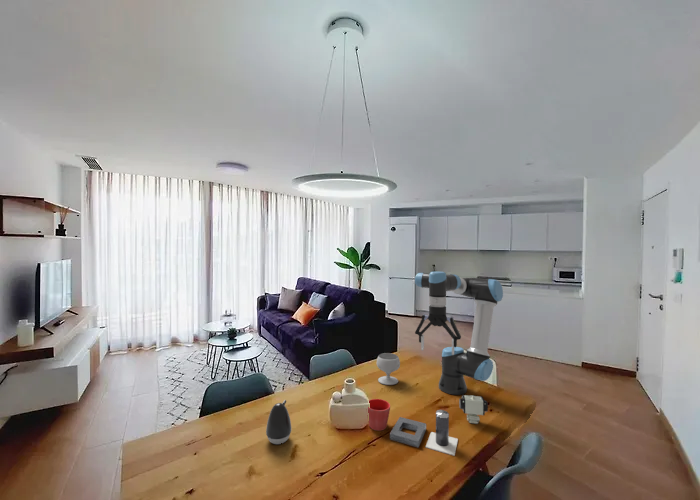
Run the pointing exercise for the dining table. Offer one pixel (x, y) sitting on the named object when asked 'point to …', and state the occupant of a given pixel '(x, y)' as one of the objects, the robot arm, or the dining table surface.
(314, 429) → the dining table surface
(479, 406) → the pneumatic valve
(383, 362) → the chalice
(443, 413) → the metal cylinder
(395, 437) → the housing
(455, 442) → the pad
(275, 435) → the dark grey tapered piece
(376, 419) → the flower pot
